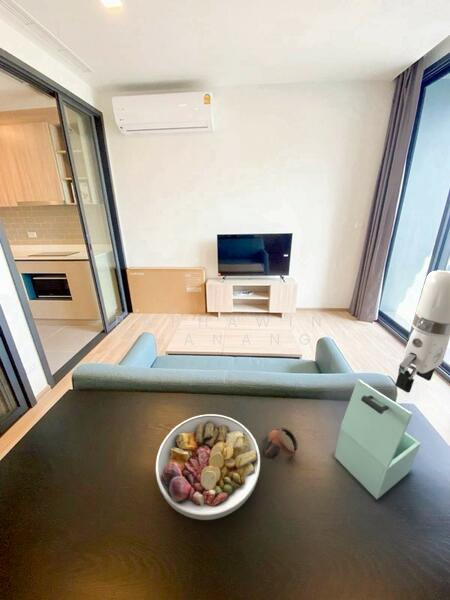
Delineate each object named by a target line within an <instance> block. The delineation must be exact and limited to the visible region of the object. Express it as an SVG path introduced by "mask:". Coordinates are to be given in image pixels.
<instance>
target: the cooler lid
mask: <svg viewBox="0 0 450 600" xmlns="http://www.w3.org/2000/svg"><path fill="white" fill-rule="evenodd" d="M354 385H355V386H354V388H353V391H352V394H351V397H350V399H349V403H348V405H347V408H346V411H345V413H344V416H343V419H342V422H341V425H340V429H341V428H342V429H343V430H344V431H345V432H346V433H347V434H348V435H350V436H351V437H352V438H353V439H354V440H355V441H356V442H358V443H359V444H360V445H361V446H362V447H363V448H364V449H366V450H367V451H368V452H369V453H370V454H371V455H372V456H374V457H375V458H376V459H377V460H378V461H379V462H380V463H381V464H383V465H384V466H385V467H386V468H389V466H390V464H391V461H392V459H393V457H394V455H395V452H396V450H397V448H398V446H399V444H400V441H401V439H402V437H403V435H404V432H406V431H407V428H408V426H409V423H410V422H411V420H412V417H413V415H414V413H412V412H411V411H409V410H408V409H406V408H405V407H403V406H401V405H400V404H399V403H397V402H396V401H394V400H392V399H391V398H389V397H388V396H386V395H384V394H383V393H381V392H380V391H378V390H377V389H375V388H374V387H372V386H370V385H369V384H368V383H365V382H364V381H363V380H362V379H357V380H356V383H355V384H354Z"/></svg>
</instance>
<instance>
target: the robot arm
mask: <svg viewBox="0 0 450 600" xmlns="http://www.w3.org/2000/svg"><path fill="white" fill-rule="evenodd" d="M411 327H412V328H413V330H412V332H411V334H410V336H409V339H408V342H407V344H406V345H405V346H406V347H405V349H404V351H403V355H402V359H401V362H400V363H399V365H398V367H399V368H398V375H397V378H396V381H395V386H396V388H398V389H400V390H402V391H404V392H405V393H410V392H411V390H412V387H413V384H414V382H415V379H414V378H415V376H418V377H420V378H422V379H425V380H426V381H431V380H432V378H433V375H434V372H435V370H436V368H438V367H439V366H440V365H441V364H443V361H444V358H445V356H446V352H447V348H448V345H449V342H450V270H434V271H431V272H429V274H428V275H427V276H426V278H425V281H424V284H423V288H422V292H421V294H420V298H419V301H418V304H417V308H416V311H415V313H414V317H413V320H412V323H411ZM409 369H411V370H412V371H411V372H410V371H409Z"/></svg>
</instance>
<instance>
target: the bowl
mask: <svg viewBox="0 0 450 600" xmlns="http://www.w3.org/2000/svg"><path fill="white" fill-rule="evenodd" d="M260 470H261V454H260V450H259V446H258V443H257V441H256V439H255V437H254V436H253V434H252V433H251V432H250V431H249V429H248V428H246V427H245V425H243V424H242V423H240V422H239V421H237V420H235V419H234V418H232V417H229V416H226V415H223V414H214V413H213V414H212V413H211V414H210V413H209V414H200V415H196V416H192V417H190V418H188V419H186V420H184V421H182V422H181V423H179V424H178V425H176V426H175V427H174V428H173V429H171V431H170V432H169V433H168V434H167V435H166V437H165V438H164V440H162V443H161V445H160V446H159V449H158V452H157V456H156V459H155V475H156V481H157V484H158V488H159V490H160V492H161V494H162V496H163V499H165V501H166V502H167V503H168V504H169V506H171V508H172V509H174V510H175V511H176V512H177V513H180V514H181V515H183V516H185V517H187V518H190V519H194V520H199V521H211V520H216V519H217V520H218V519H221V518H223V517H226V516H229V515H230V514H232V513H234V512H235V511H236V510H238V509H240V507H242V506H243V505H244V504H245V503H246V501H247V500H248V499H249V498H250V496H251V495H252V493H253V491H254V490H255V488H256V485H257V482H258V479H259V476H260Z"/></svg>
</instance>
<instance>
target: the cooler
mask: <svg viewBox="0 0 450 600" xmlns="http://www.w3.org/2000/svg"><path fill="white" fill-rule="evenodd" d="M421 444H422V443H421V442H420V441H418V440H417V439H416V438H414V437H413V436H411V435H410V434H409V433H407V432H406V431H405V432H404V435H403V437H402V439H401V441H400V444H399V446H398V448H397V450H396V452H395V455H394V457H393V459H392V461H391V464H390V466H389V468H386V467H385V466H384V465H383V464H381V463H380V462H379V461H378V460H377V459H376V458H375V457H374V456H372V455H371V454H370V453H369V452H368V451H367V450H366V449H364V448H363V447H362V446H361V445H360V444H359V443H358V442H356V441H355V440H354V439H353V438H352V437H351V436H350V435H348V434H347V433H346V432H345V431H344V430H343V429H342V428H340V431H339V436H338V440H337V444H336V447H335V452H334V458H335V459H337V461H338V462H339V463H340V464H342V466H343V467H344V468H345V469H346V470H347V471H348V472H349V473H350V474H351V475H352V476H353V477H354V478H355V479H356V480H357V481H358V482H359V483H360V485H362V486H363V488H365V489H366V490H367V491H368V492H369V493H370V494H371V495H372V496H373V498H374V499H376V500H378V499H379V498H380V497H382V496H383V495H384V494H385V493H386V492H388V491H389V490H390V489H391V488H393V487H394V486H395V485H396V484H397V483H398V482H400V481H401V480H402V479H403V478H405V476H407V475H408V474H409V473H410V472H411V469H412V467H413V464H414V462H415V459H416V457H417V454H418V452H419V449H420V447H421Z"/></svg>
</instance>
